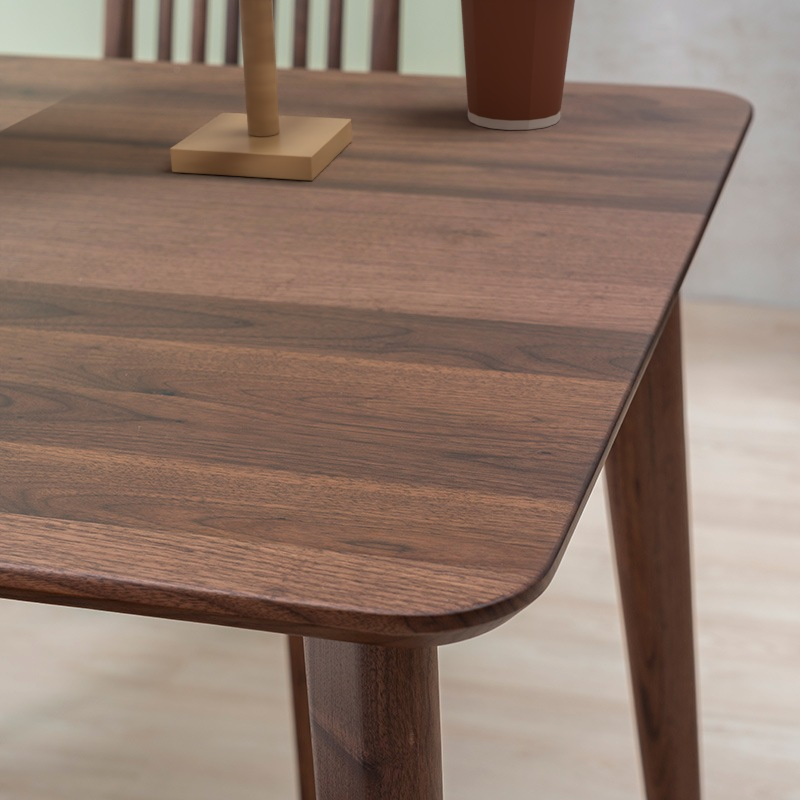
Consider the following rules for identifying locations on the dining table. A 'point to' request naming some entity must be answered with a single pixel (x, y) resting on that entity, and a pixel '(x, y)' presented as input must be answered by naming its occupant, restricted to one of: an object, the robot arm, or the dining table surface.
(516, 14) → the coffee cup
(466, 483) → the dining table surface
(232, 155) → the tape stand
